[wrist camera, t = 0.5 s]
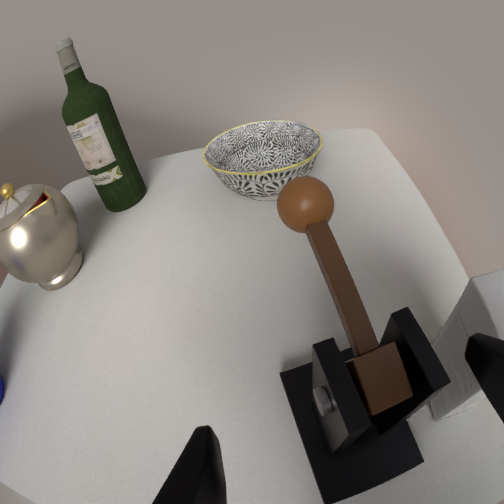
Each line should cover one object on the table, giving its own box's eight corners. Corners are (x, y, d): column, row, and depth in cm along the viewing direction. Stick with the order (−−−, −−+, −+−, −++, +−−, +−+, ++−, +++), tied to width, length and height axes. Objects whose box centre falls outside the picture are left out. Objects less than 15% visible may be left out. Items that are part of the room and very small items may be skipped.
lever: (270, 205, 19) (268, 172, 16) (317, 192, 19) (322, 159, 16) (346, 415, 13) (363, 421, 10) (400, 390, 14) (426, 390, 11)
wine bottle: (101, 216, 47) (28, 58, 26) (114, 190, 53) (55, 47, 31) (140, 207, 46) (71, 33, 25) (151, 181, 52) (95, 27, 31)
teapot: (114, 234, 43) (65, 142, 31) (78, 309, 33) (0, 212, 22) (42, 242, 46) (-3, 172, 34) (8, 302, 37) (-52, 230, 25)
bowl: (304, 152, 49) (300, 112, 44) (342, 206, 38) (342, 155, 33) (212, 174, 49) (200, 134, 44) (221, 236, 38) (205, 186, 33)
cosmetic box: (473, 406, 18) (554, 342, 9) (433, 423, 18) (510, 368, 10) (454, 349, 22) (513, 263, 14) (416, 361, 23) (468, 276, 14)
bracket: (280, 377, 24) (257, 289, 15) (365, 346, 25) (393, 244, 16) (324, 504, 16) (341, 529, 7) (419, 462, 16) (508, 431, 7)
